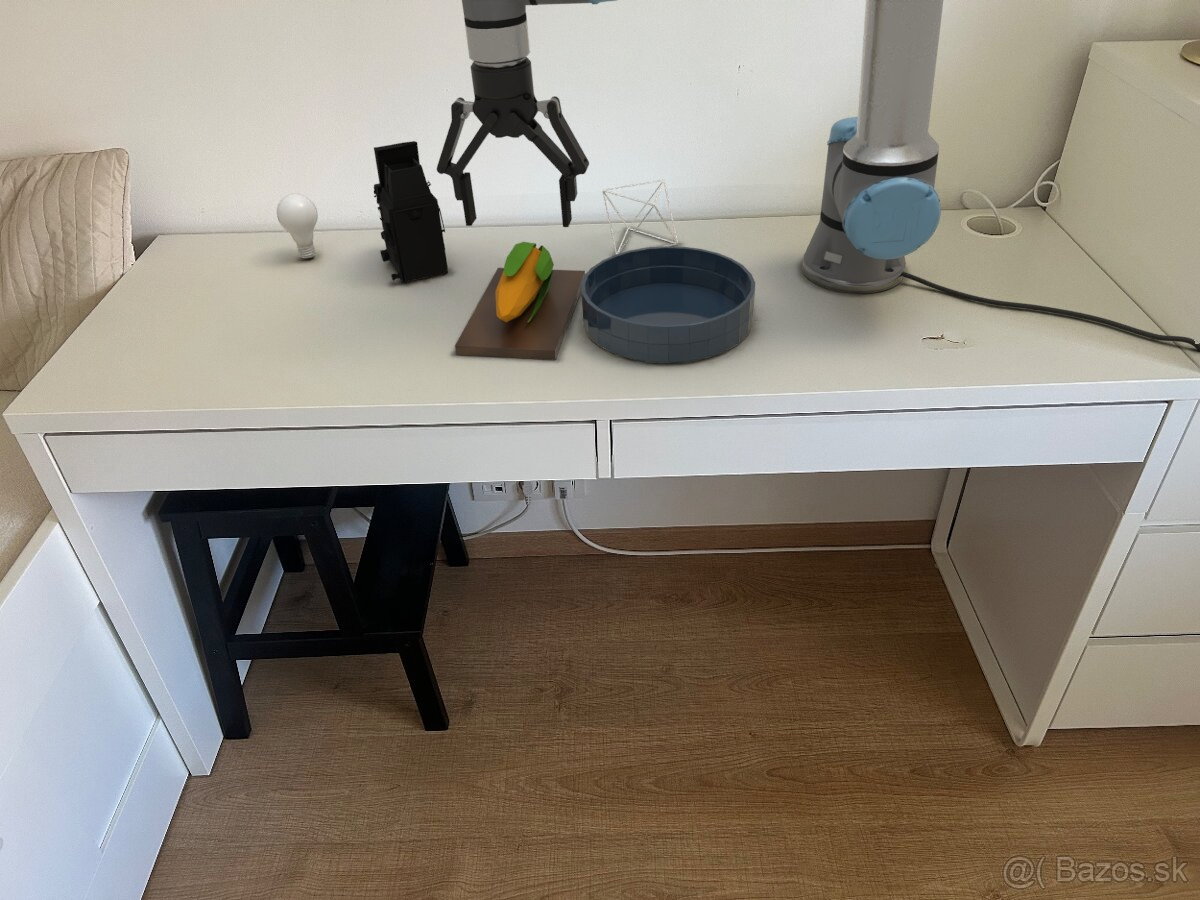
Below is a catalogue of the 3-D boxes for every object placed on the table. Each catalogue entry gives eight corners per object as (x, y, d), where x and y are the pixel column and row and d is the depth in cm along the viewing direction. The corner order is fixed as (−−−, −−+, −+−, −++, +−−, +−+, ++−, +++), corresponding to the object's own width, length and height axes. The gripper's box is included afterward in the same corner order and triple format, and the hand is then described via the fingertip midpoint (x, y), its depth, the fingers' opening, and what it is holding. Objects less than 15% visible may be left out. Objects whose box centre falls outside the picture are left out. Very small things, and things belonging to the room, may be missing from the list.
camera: (431, 243, 154) (412, 123, 141) (456, 273, 144) (437, 148, 131) (374, 255, 150) (349, 135, 138) (395, 288, 140) (370, 161, 128)
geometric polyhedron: (598, 234, 154) (596, 182, 148) (657, 223, 156) (657, 172, 151) (622, 264, 144) (620, 210, 139) (685, 252, 147) (686, 199, 141)
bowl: (754, 285, 137) (756, 248, 133) (750, 370, 118) (753, 330, 114) (597, 279, 140) (596, 243, 136) (569, 361, 121) (566, 322, 118)
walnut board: (585, 279, 140) (585, 270, 139) (555, 359, 122) (554, 350, 121) (498, 276, 142) (497, 267, 142) (456, 354, 124) (454, 345, 123)
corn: (556, 227, 134) (528, 289, 118) (562, 274, 138) (537, 340, 123) (508, 230, 135) (474, 291, 119) (516, 276, 140) (485, 341, 124)
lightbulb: (335, 254, 151) (321, 191, 145) (307, 269, 147) (291, 205, 140) (309, 247, 154) (293, 184, 147) (281, 261, 150) (263, 198, 143)
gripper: (604, 49, 112) (612, 212, 124) (413, 53, 115) (440, 210, 128) (594, 66, 106) (604, 235, 119) (394, 69, 110) (424, 232, 122)
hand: (519, 222), depth 123 cm, fingers open, 13 cm apart
